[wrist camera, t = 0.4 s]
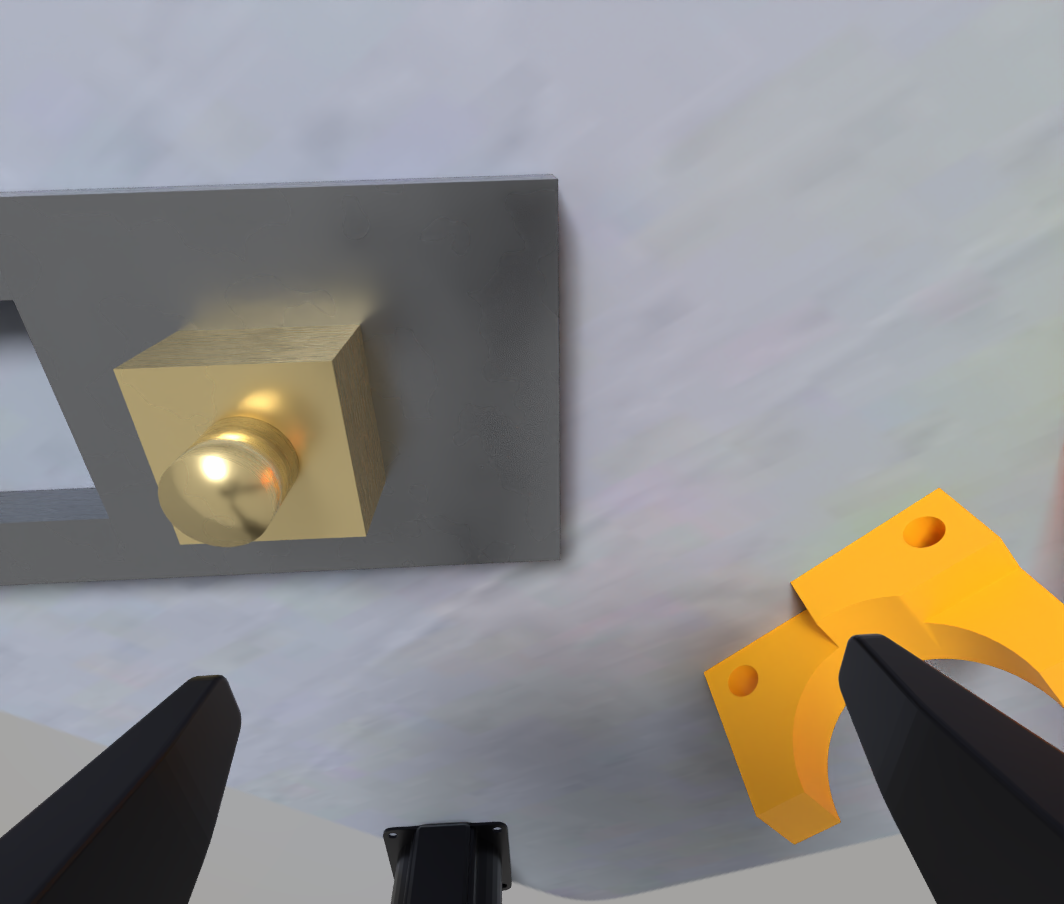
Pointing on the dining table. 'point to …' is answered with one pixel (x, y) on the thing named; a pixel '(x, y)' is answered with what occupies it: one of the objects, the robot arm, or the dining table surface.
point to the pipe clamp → (893, 611)
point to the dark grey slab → (298, 301)
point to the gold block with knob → (258, 432)
